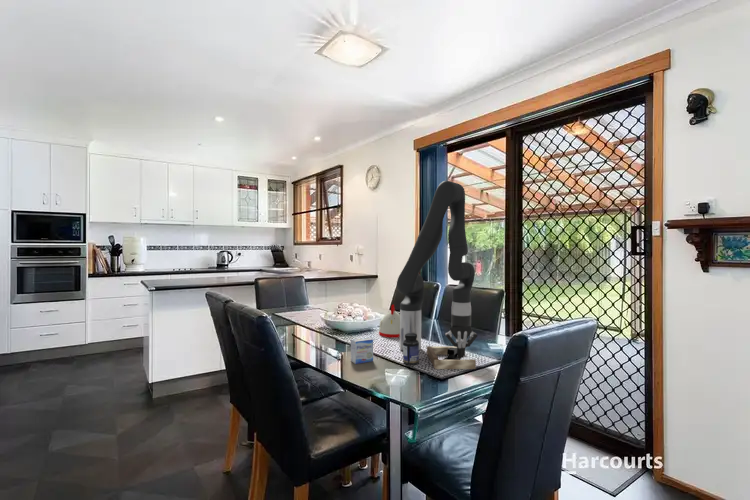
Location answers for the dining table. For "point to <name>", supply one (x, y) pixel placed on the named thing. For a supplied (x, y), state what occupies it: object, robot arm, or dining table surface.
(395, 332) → the kitchen timer
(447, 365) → the frame
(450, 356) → the black angular block
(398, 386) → the dining table surface
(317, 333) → the dining table surface
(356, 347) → the medicine box
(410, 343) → the pill bottle
